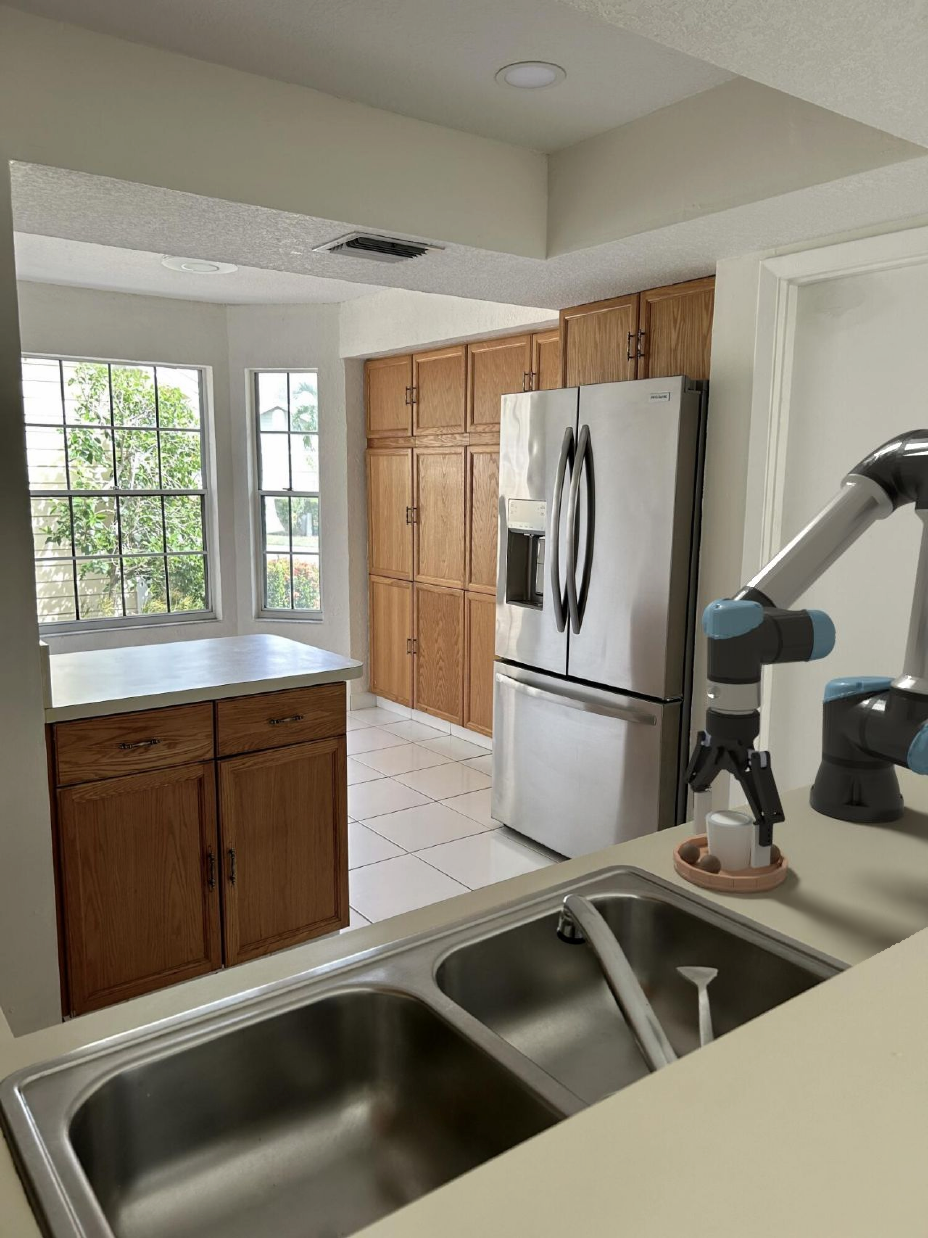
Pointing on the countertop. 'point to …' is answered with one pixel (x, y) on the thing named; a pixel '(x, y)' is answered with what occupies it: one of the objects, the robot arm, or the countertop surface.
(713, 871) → the bead
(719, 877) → the tray
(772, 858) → the bead
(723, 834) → the white cup
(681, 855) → the bead
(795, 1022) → the countertop surface
